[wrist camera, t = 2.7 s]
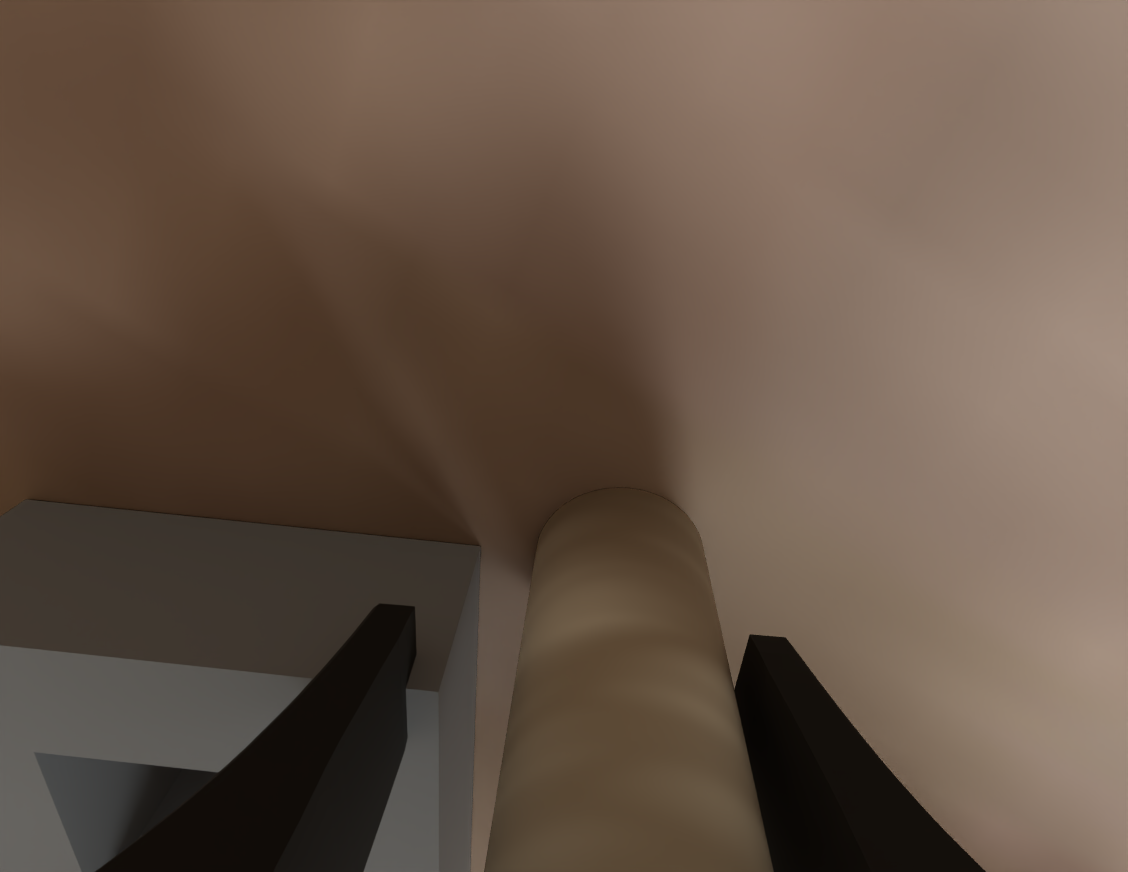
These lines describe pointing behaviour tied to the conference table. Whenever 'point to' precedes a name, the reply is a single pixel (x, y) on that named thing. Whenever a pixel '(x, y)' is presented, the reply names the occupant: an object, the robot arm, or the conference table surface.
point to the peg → (624, 705)
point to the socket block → (210, 671)
